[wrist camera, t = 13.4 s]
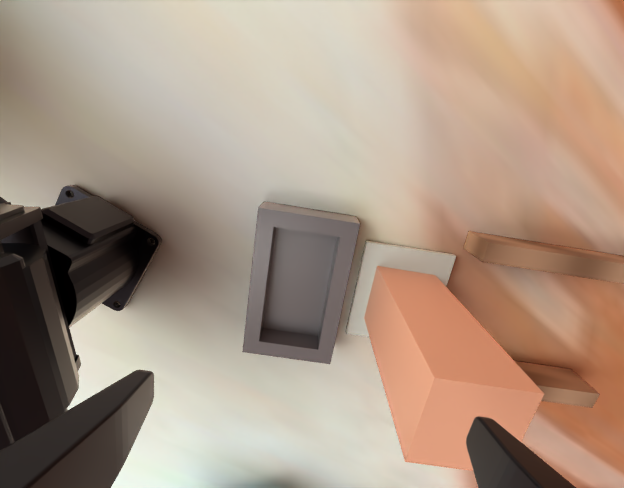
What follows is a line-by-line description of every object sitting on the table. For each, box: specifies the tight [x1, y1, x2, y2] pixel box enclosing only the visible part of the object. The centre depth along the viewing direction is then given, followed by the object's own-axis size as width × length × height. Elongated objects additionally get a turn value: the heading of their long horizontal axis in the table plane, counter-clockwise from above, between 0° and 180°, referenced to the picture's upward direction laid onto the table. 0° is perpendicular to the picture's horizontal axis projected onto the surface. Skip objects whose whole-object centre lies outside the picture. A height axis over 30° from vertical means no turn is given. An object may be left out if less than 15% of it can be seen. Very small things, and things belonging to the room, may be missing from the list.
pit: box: [243, 202, 360, 364], centre depth 21 cm, size 6×10×2 cm, turn 171°
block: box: [364, 266, 544, 471], centre depth 17 cm, size 4×4×10 cm
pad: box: [346, 241, 456, 337], centre depth 22 cm, size 6×7×1 cm
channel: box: [463, 231, 624, 408], centre depth 21 cm, size 11×10×2 cm
